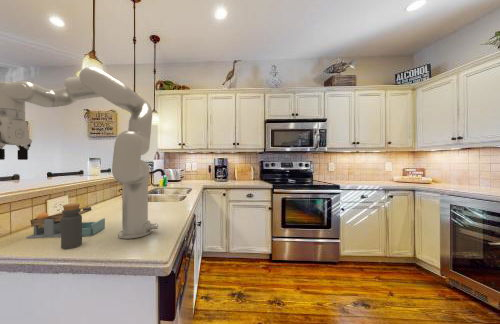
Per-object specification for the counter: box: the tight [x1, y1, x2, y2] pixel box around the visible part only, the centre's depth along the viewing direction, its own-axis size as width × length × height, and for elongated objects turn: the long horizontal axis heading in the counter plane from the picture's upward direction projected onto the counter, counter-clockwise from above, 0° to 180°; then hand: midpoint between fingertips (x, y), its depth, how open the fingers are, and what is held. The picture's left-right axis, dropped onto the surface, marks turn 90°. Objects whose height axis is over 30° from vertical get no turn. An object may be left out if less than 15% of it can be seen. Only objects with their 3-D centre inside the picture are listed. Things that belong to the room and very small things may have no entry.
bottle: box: [60, 202, 83, 250], centre depth 77 cm, size 6×6×15 cm
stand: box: [25, 219, 61, 239], centre depth 89 cm, size 14×9×7 cm, turn 99°
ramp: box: [29, 206, 93, 228], centre depth 94 cm, size 15×16×4 cm
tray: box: [82, 217, 106, 237], centre depth 91 cm, size 9×10×4 cm
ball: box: [36, 211, 49, 220], centre depth 88 cm, size 4×4×4 cm
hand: (11, 159), depth 82 cm, fingers open, 9 cm apart
